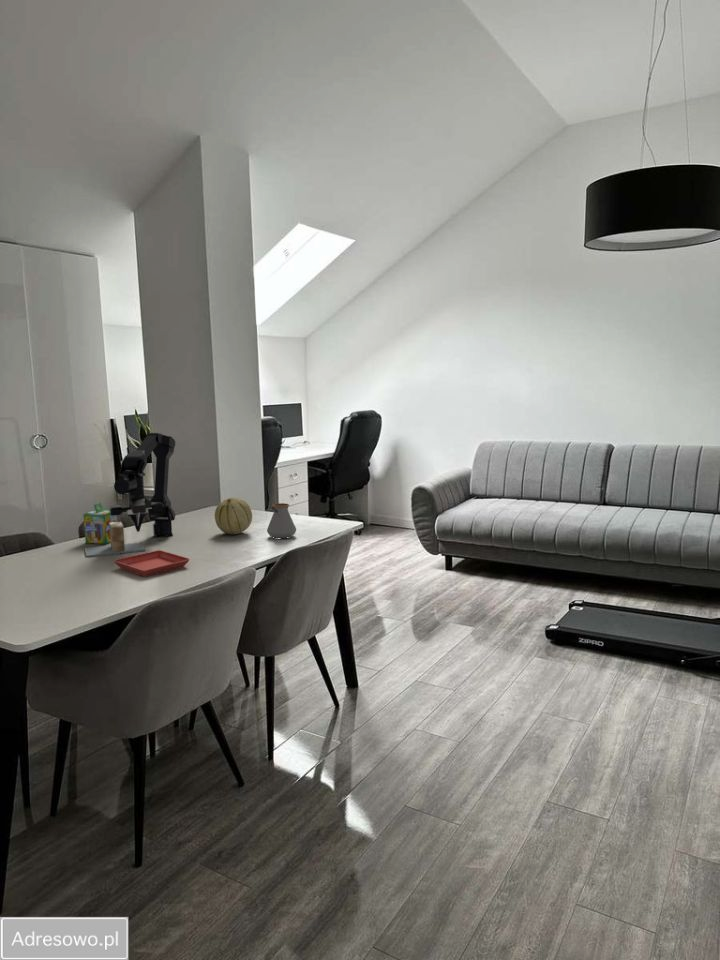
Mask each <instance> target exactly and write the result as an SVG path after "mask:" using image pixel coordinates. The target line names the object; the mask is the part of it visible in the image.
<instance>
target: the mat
mask: <svg viewBox="0 0 720 960" xmlns="http://www.w3.org/2000/svg"><path fill="white" fill-rule="evenodd" d="M124 546H125V550H123V551H113V550H112V548H111V544H110V545H99V546H92V547H91V546H90V547H84V548H83V549H85V550H84V552H85V555H86V558H91V557H93V556H94V557H100V556H101V557H102V556H103V555H104V556H112V555H120V553H122V554H128V553H129V552H132V553H137V552H138V553H140V552H146V547H145V546H144V544H143V543H142V542H131V543H124ZM129 554H130V553H129ZM104 556H103V557H104Z"/></svg>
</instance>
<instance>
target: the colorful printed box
mask: <svg viewBox="0 0 720 960" xmlns="http://www.w3.org/2000/svg"><path fill="white" fill-rule="evenodd" d="M102 505H103V504H102V503H101V502H98V503H95V504H94V505H93V507H94V510H91V511H88V512H86V513H83V523H84V524H83V525H84V527H83V528H84V537H85V544H86V543H94V544H97V545H98V544H100V545H102V544H104V545H107V544H111V537H110V523H112V522H118V515H114V516H111V515H110V512H109V509H103V506H102ZM98 507H99V508H100V509H98Z"/></svg>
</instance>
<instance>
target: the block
mask: <svg viewBox="0 0 720 960" xmlns="http://www.w3.org/2000/svg"><path fill="white" fill-rule="evenodd" d="M124 530H125V529H124V524H123V523H122V521H117V522H112V523H110V537H111V542H110V545H111V548H112V550H113V551H123V550H125V546H124V544H125V532H124Z"/></svg>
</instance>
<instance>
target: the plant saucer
mask: <svg viewBox="0 0 720 960" xmlns="http://www.w3.org/2000/svg"><path fill="white" fill-rule="evenodd" d="M113 562H114V563H115V565H116V566H118V567H119V569H121V570H123V569H124V570H123V571H126V570H127V571H126V572H129V571H130V572H131V573H132V572H133V573H132V574H135V573H136V575H138V574H139V575H138V576H142V577H145V576H146V577H149V576H154V575H157V574H162V573H165V572H169V571H174V570H178V569H182V568H183V567H185V566H186V565H187V564H188V563H189V562H190V558H188V557H185V556H182V555H178V554H174V553H172V552H167V551H164V550H160V549H158V550H154V551H150V552H149V551H148V552H144V553H141V554H140V553H139V554H135V555H132V556H130V555H129V556H126V557H122V558H118V559H114V560H113Z"/></svg>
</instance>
